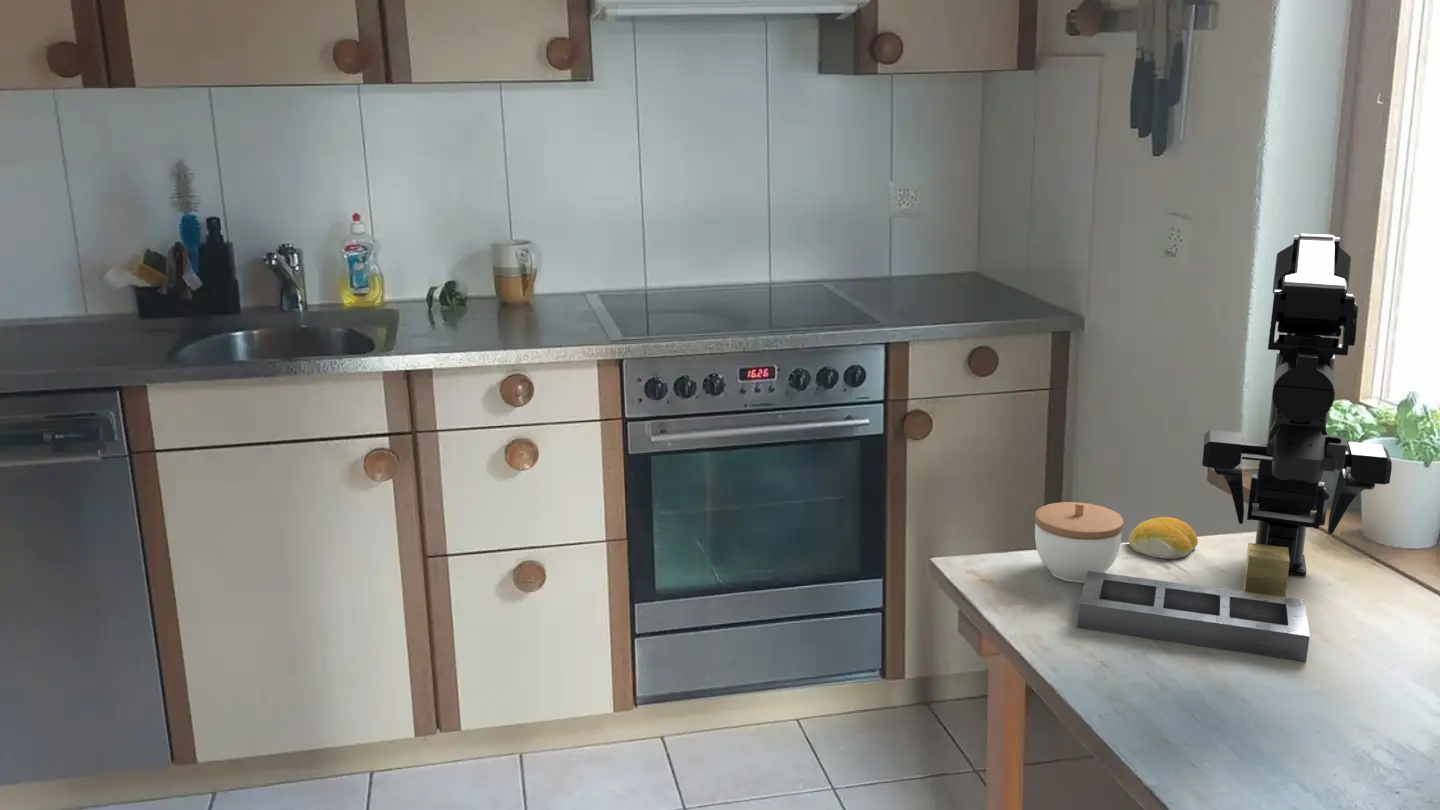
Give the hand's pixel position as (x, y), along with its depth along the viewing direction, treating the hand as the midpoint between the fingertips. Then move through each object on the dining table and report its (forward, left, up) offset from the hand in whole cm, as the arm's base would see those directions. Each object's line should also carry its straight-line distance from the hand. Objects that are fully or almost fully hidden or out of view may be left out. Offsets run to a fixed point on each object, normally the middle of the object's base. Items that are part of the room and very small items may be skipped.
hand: (1284, 527), depth 139 cm
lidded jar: (-7, -23, -12) cm, 27 cm away
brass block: (-6, -1, -12) cm, 14 cm away
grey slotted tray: (+4, -9, -12) cm, 15 cm away
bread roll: (-20, -13, -12) cm, 27 cm away
